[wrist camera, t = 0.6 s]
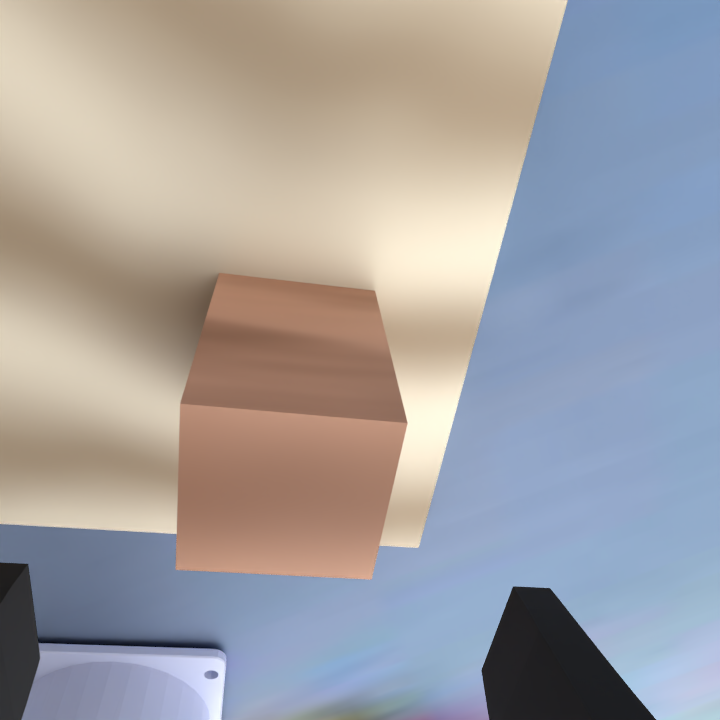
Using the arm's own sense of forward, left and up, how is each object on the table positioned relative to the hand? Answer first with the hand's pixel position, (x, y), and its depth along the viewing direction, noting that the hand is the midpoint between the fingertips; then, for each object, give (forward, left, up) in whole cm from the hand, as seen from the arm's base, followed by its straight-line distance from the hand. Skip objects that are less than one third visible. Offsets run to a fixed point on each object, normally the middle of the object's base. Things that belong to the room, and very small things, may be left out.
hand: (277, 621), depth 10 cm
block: (0, 0, -9) cm, 9 cm away
